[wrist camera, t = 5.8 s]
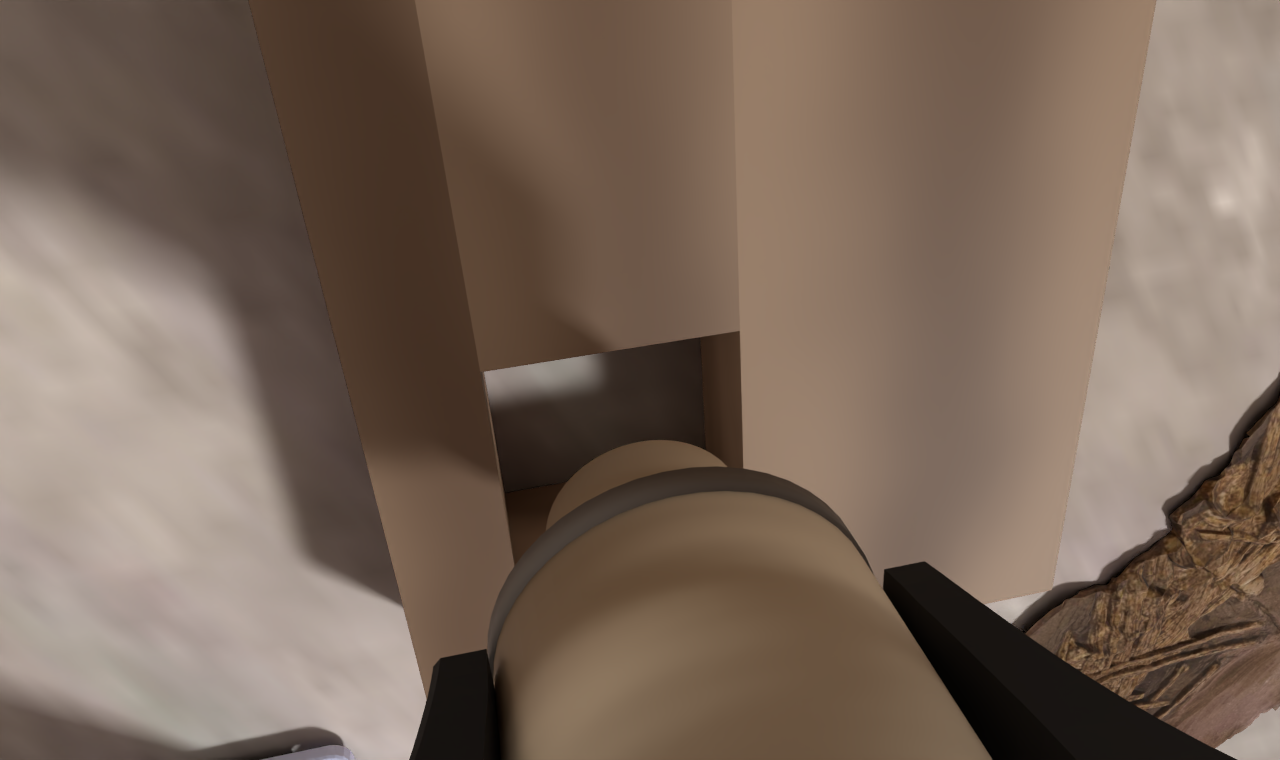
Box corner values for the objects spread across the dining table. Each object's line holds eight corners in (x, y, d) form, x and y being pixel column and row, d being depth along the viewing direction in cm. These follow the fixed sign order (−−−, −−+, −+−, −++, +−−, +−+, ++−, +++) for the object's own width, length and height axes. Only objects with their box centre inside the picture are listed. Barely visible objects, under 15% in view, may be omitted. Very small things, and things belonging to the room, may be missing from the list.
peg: (511, 683, 17) (567, 1186, 10) (444, 419, 14) (464, 878, 8) (810, 613, 18) (1036, 1045, 11) (800, 348, 15) (1093, 715, 8)
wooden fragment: (1426, 210, 23) (1467, 224, 22) (1585, 412, 28) (1624, 430, 27) (758, 870, 30) (768, 901, 29) (976, 942, 35) (991, 971, 34)
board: (430, 621, 22) (432, 719, 20) (203, -326, 14) (153, -374, 11) (984, 513, 24) (1051, 589, 22) (1095, -374, 16) (1230, -423, 13)
